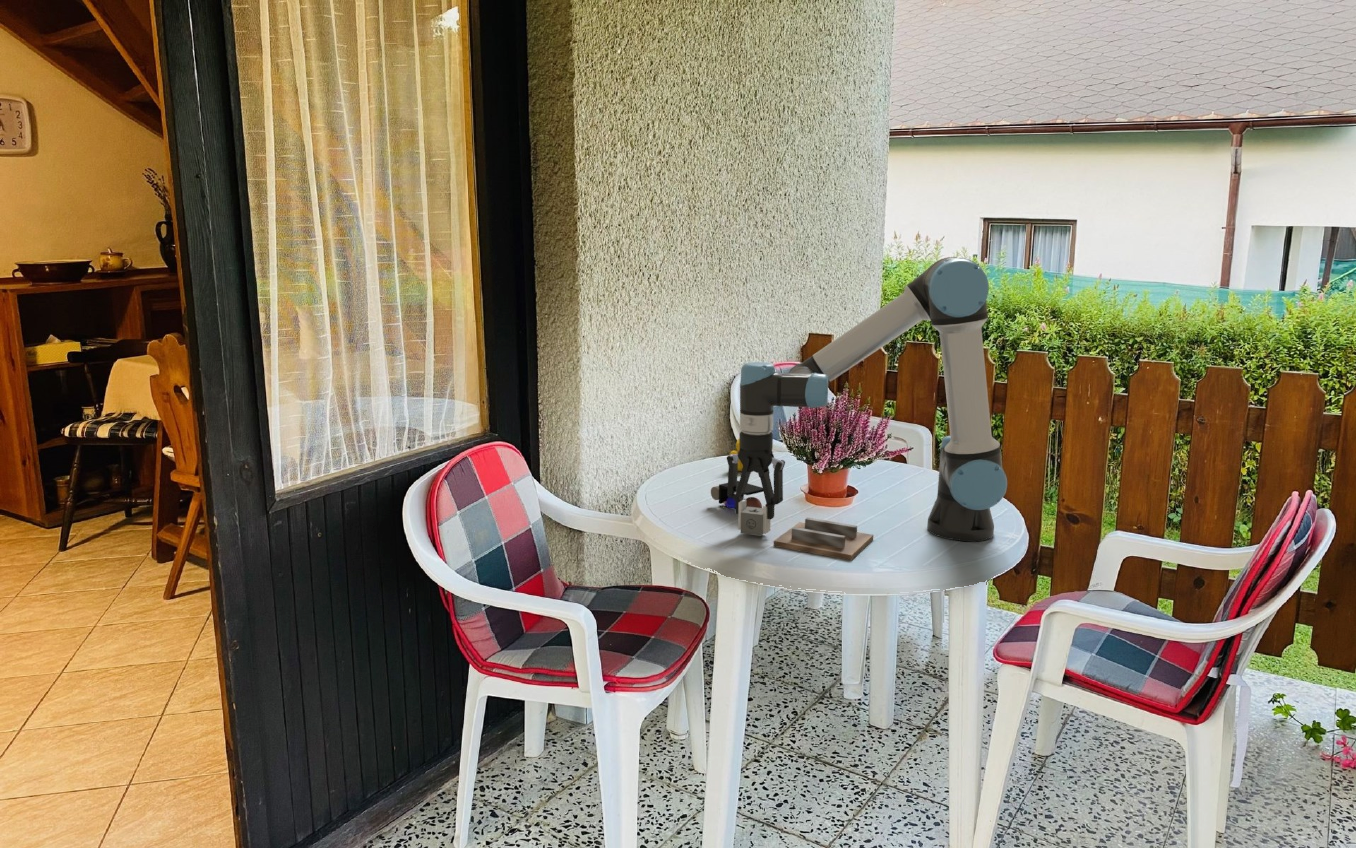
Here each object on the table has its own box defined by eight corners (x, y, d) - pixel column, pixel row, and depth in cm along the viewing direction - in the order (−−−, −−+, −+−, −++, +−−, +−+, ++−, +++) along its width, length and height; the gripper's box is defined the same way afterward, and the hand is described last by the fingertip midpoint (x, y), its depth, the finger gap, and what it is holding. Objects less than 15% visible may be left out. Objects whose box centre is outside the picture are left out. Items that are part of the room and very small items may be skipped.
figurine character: (709, 512, 239) (747, 520, 227) (707, 482, 238) (746, 489, 226) (729, 507, 243) (768, 516, 231) (728, 478, 242) (767, 485, 230)
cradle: (873, 539, 215) (874, 524, 214) (851, 560, 201) (852, 544, 200) (799, 527, 223) (800, 512, 223) (773, 546, 209) (774, 530, 209)
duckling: (746, 465, 281) (748, 432, 279) (761, 468, 278) (762, 435, 276) (723, 471, 273) (724, 438, 271) (737, 475, 270) (738, 441, 267)
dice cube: (740, 533, 214) (740, 512, 213) (746, 527, 219) (747, 506, 218) (761, 536, 213) (762, 514, 212) (767, 529, 217) (768, 508, 216)
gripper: (712, 430, 212) (711, 528, 217) (788, 438, 204) (785, 540, 208) (726, 424, 219) (724, 519, 223) (800, 432, 210) (797, 531, 215)
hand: (754, 529), depth 216 cm, fingers closed on dice cube, 5 cm apart
